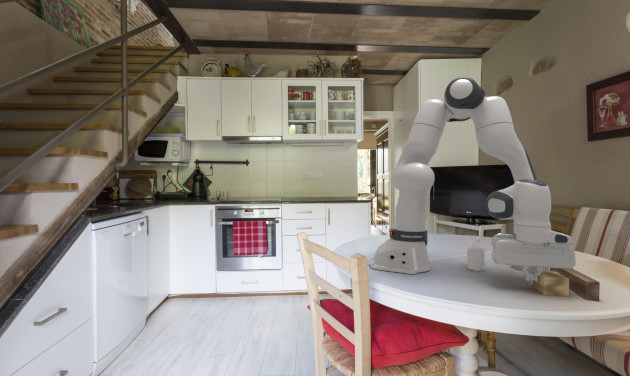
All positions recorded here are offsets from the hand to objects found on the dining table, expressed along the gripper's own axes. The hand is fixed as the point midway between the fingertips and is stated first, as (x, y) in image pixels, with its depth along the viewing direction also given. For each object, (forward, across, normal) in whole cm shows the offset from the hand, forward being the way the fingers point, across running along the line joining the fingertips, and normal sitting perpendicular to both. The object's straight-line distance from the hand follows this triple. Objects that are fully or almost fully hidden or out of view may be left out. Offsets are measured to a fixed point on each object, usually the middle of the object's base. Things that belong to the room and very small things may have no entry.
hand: (531, 280), depth 87 cm
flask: (+3, +6, +11) cm, 13 cm away
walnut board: (+3, +13, +6) cm, 14 cm away
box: (+3, +5, +24) cm, 25 cm away
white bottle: (+3, -11, +19) cm, 22 cm away
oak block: (+3, +5, 0) cm, 5 cm away
